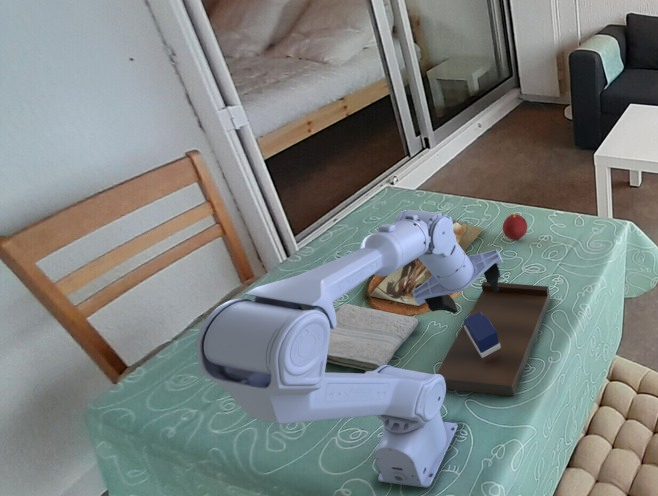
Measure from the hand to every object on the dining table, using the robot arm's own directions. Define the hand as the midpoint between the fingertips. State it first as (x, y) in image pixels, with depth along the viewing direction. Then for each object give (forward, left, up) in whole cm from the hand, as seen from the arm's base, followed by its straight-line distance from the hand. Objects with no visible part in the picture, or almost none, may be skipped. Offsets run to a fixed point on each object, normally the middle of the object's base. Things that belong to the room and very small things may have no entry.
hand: (475, 297), depth 90 cm
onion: (+31, +5, -12) cm, 33 cm away
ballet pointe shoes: (+22, +22, -12) cm, 33 cm away
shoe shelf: (+1, -2, -12) cm, 12 cm away
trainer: (-1, 0, -9) cm, 9 cm away
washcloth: (-2, +24, -12) cm, 26 cm away
